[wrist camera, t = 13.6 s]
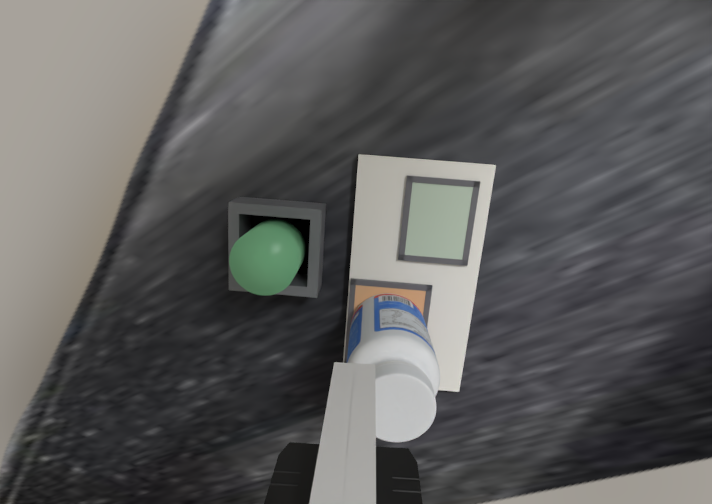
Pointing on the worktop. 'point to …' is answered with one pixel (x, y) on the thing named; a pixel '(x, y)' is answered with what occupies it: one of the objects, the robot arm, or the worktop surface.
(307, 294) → the button frame
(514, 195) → the worktop surface
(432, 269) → the white rectangular board
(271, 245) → the button
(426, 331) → the pill bottle
